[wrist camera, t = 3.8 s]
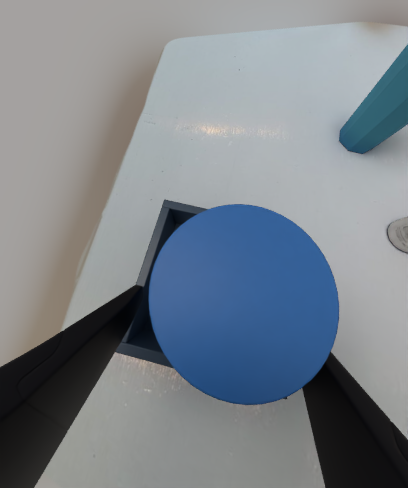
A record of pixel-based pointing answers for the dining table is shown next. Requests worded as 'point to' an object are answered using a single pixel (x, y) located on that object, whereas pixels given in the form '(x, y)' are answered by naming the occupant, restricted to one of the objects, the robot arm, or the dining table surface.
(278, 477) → the dining table surface
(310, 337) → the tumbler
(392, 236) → the pill bottle
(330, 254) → the dining table surface
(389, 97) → the cup
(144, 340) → the tray
